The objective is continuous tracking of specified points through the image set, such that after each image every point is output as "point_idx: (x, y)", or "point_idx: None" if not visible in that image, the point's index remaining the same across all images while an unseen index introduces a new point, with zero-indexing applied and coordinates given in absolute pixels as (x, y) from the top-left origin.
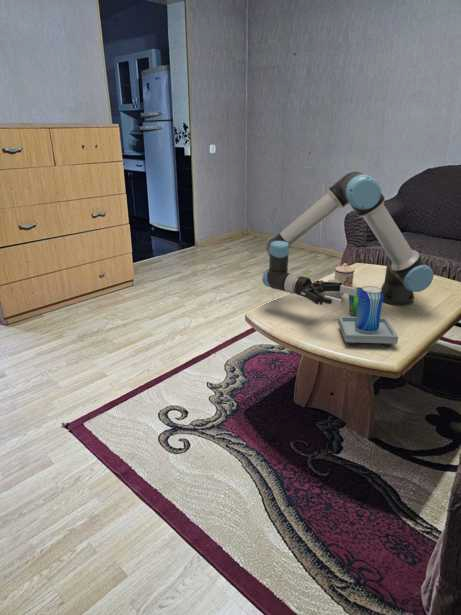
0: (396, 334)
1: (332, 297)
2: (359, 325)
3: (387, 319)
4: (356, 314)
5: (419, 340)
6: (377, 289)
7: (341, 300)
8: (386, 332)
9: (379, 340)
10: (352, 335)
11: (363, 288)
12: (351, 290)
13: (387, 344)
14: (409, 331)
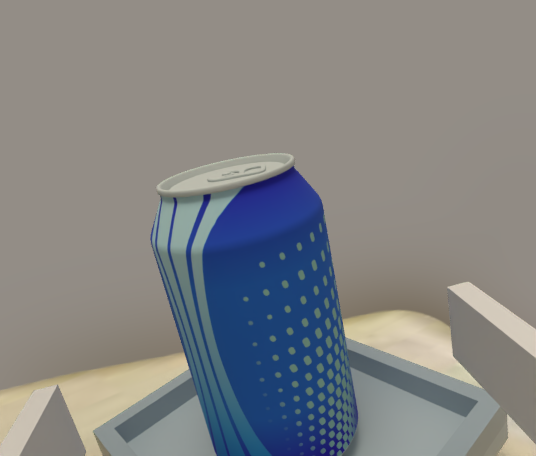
0: None
1: (526, 339)
2: (354, 393)
3: (117, 415)
4: (324, 380)
5: (154, 369)
6: (195, 178)
7: (448, 296)
8: None
9: None
10: (464, 382)
11: (234, 191)
12: (47, 450)
13: None
14: (83, 422)
